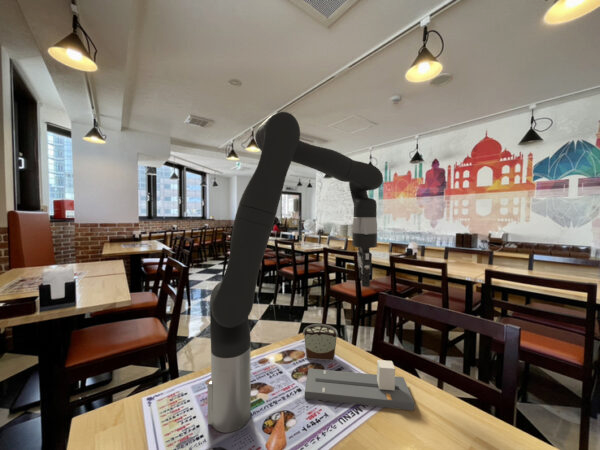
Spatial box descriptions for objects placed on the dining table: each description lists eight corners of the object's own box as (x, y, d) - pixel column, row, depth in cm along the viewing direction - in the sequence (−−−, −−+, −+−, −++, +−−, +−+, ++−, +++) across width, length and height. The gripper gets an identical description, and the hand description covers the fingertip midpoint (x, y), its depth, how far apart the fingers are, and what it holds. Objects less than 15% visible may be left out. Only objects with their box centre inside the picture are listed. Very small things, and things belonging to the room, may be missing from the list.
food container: (337, 351, 89) (337, 324, 88) (338, 360, 83) (338, 332, 82) (303, 349, 90) (303, 322, 90) (302, 358, 84) (302, 330, 83)
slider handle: (379, 389, 66) (379, 367, 66) (376, 380, 69) (377, 359, 69) (394, 390, 65) (395, 368, 65) (391, 381, 69) (391, 361, 68)
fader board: (304, 398, 65) (304, 390, 65) (308, 374, 75) (308, 368, 75) (414, 410, 62) (414, 402, 61) (403, 383, 71) (403, 376, 71)
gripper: (351, 230, 84) (350, 276, 85) (354, 233, 70) (353, 288, 71) (373, 230, 83) (372, 277, 84) (381, 233, 69) (380, 289, 70)
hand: (363, 282), depth 77 cm, fingers open, 8 cm apart
